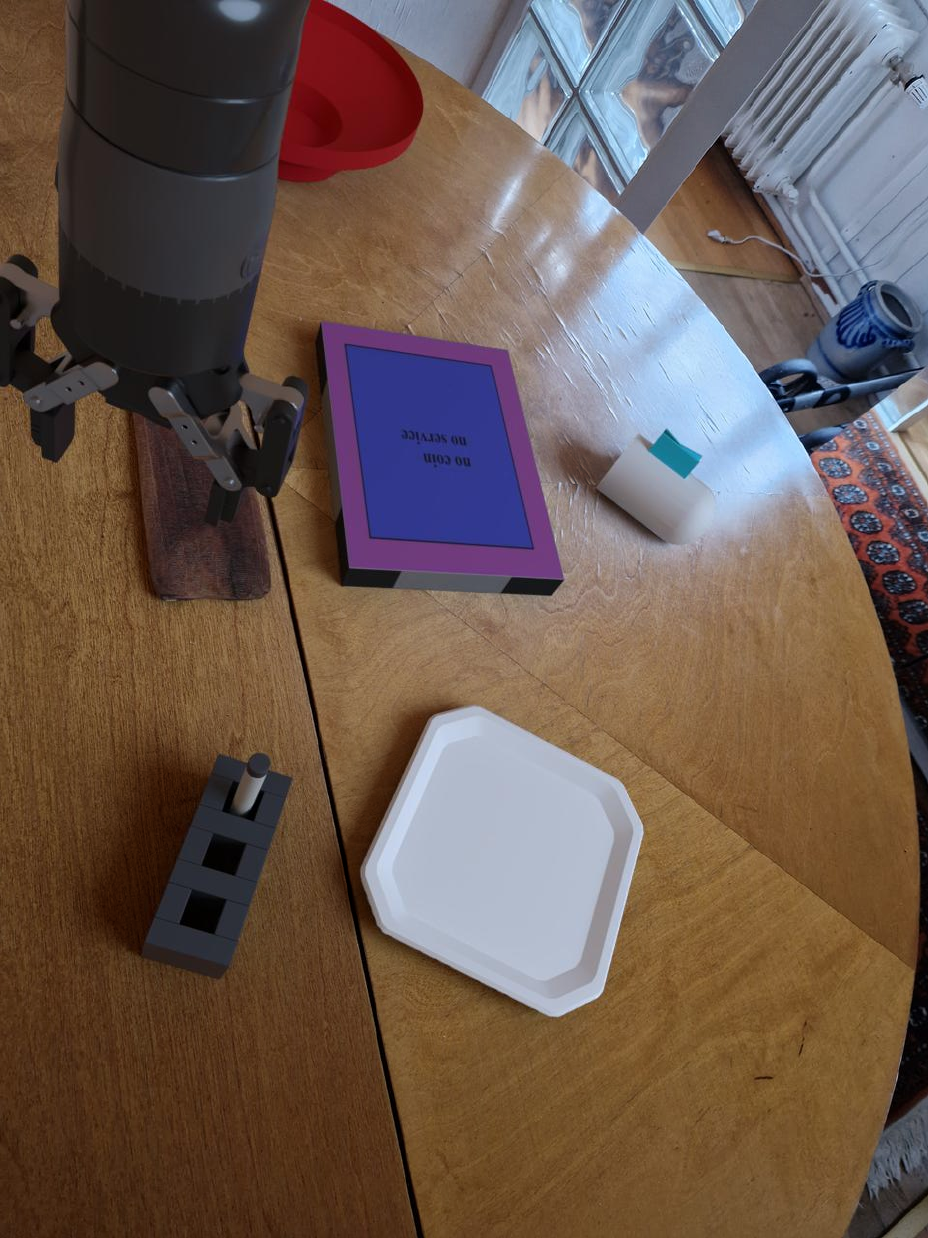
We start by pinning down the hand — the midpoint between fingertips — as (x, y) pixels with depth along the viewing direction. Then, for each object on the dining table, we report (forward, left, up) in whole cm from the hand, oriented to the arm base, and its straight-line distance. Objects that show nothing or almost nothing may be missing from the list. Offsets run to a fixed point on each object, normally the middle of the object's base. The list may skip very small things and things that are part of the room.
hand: (138, 481), depth 47 cm
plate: (+32, -3, -27) cm, 42 cm away
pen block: (+11, -11, -26) cm, 31 cm away
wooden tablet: (-2, +22, -27) cm, 35 cm away
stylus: (+11, -7, -26) cm, 29 cm away
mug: (+42, +41, -27) cm, 65 cm away
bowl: (-12, +75, -27) cm, 81 cm away
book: (+17, +34, -27) cm, 47 cm away
